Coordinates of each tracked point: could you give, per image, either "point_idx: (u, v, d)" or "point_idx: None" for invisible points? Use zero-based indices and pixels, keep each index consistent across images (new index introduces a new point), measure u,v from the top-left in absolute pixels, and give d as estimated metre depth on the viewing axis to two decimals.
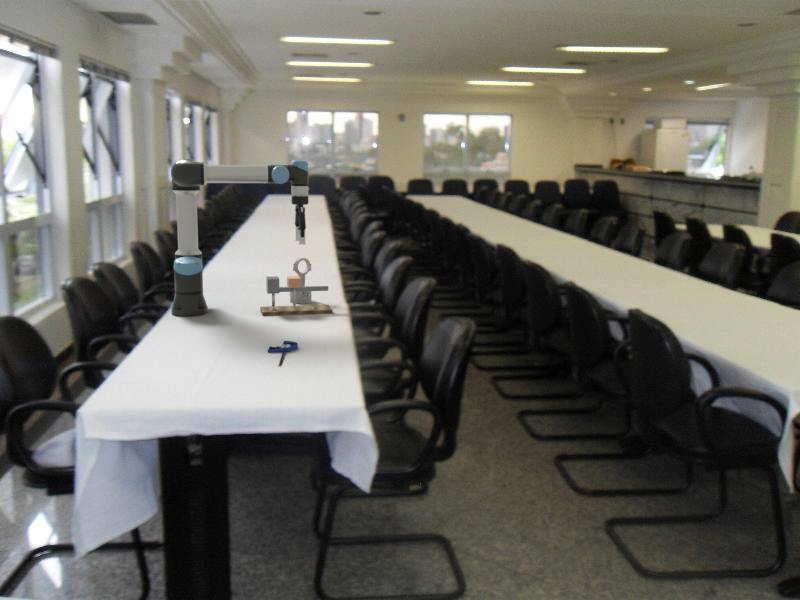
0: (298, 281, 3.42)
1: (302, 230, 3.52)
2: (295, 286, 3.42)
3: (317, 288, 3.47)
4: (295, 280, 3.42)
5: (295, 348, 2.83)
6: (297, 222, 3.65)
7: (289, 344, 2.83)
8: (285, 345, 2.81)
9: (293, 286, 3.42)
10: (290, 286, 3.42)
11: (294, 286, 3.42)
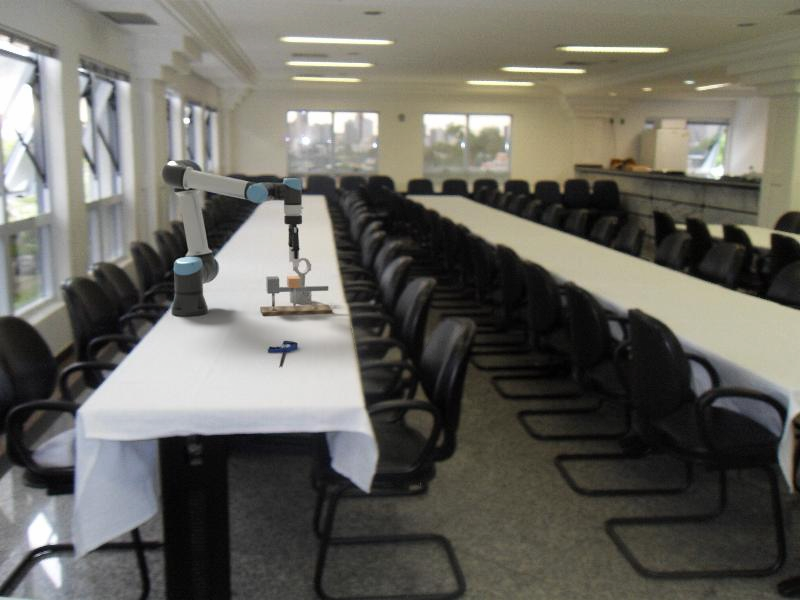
0: (298, 281, 3.42)
1: (296, 251, 3.34)
2: (295, 286, 3.42)
3: (317, 288, 3.47)
4: (295, 280, 3.42)
5: (295, 348, 2.83)
6: (290, 242, 3.47)
7: (289, 344, 2.83)
8: (285, 345, 2.81)
9: (293, 286, 3.42)
10: (290, 286, 3.42)
11: (294, 286, 3.42)
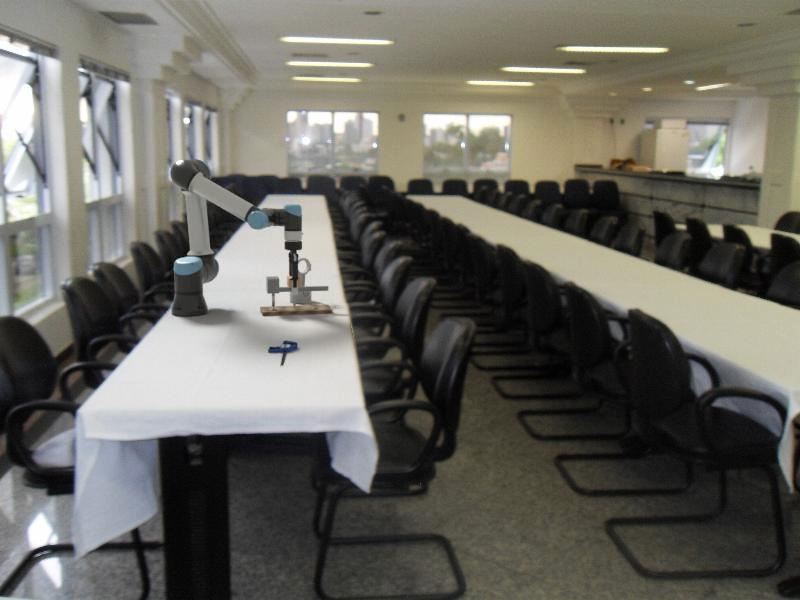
0: (298, 281, 3.42)
1: (295, 280, 3.40)
2: None
3: (317, 288, 3.47)
4: None
5: (295, 348, 2.83)
6: (291, 271, 3.47)
7: (289, 344, 2.83)
8: (286, 345, 2.81)
9: None
10: (290, 286, 3.42)
11: None
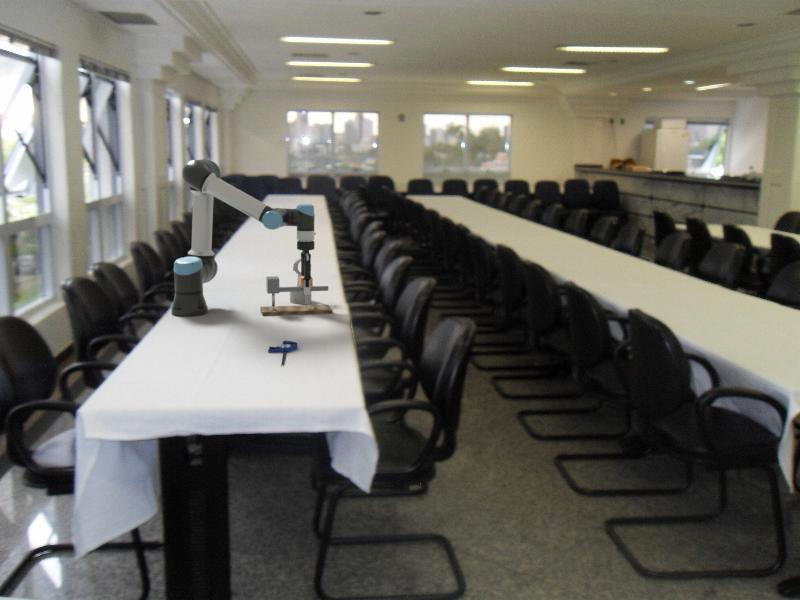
0: (310, 281, 3.43)
1: (307, 280, 3.41)
2: None
3: (317, 288, 3.47)
4: None
5: (295, 348, 2.83)
6: (303, 270, 3.49)
7: (289, 344, 2.83)
8: (286, 345, 2.81)
9: None
10: (302, 286, 3.43)
11: None
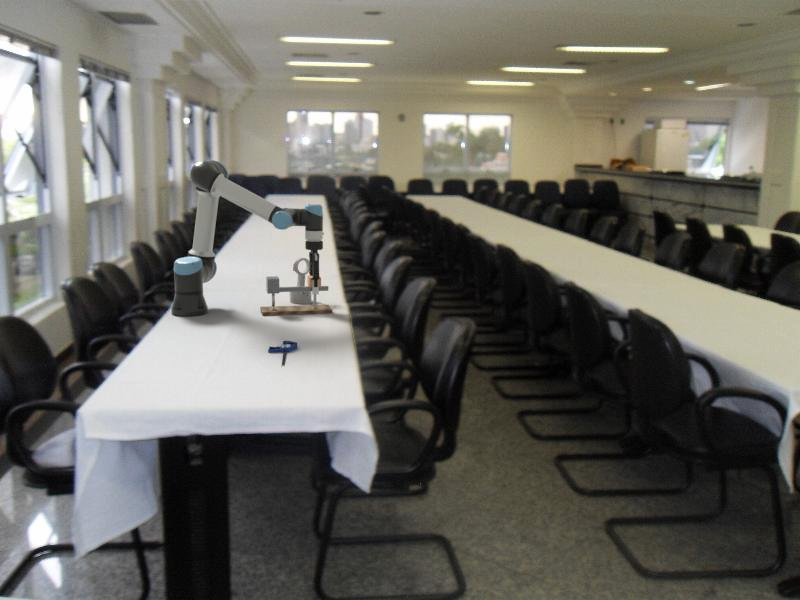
0: (319, 280, 3.44)
1: (315, 280, 3.42)
2: None
3: None
4: None
5: (295, 348, 2.83)
6: (311, 270, 3.50)
7: (289, 344, 2.83)
8: (286, 345, 2.82)
9: None
10: (311, 285, 3.44)
11: None
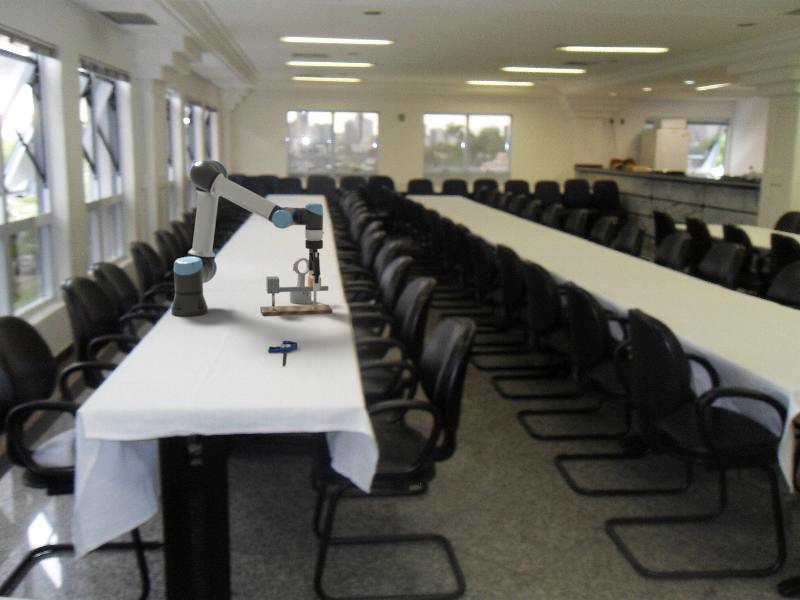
0: None
1: (316, 276, 3.39)
2: None
3: None
4: None
5: (295, 348, 2.83)
6: (311, 266, 3.52)
7: (289, 344, 2.83)
8: (286, 345, 2.82)
9: None
10: (311, 285, 3.44)
11: None
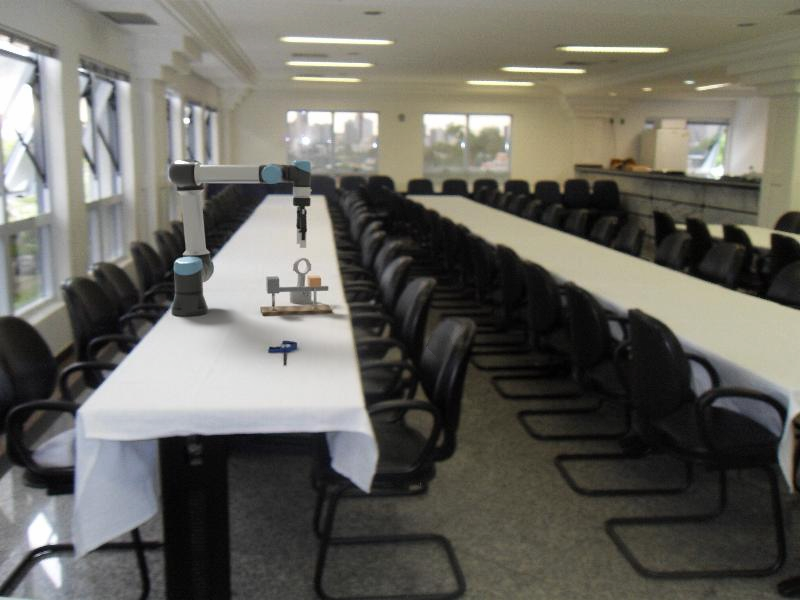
0: (319, 280, 3.44)
1: (303, 233, 3.39)
2: (316, 285, 3.44)
3: (317, 288, 3.47)
4: (316, 280, 3.44)
5: (295, 348, 2.83)
6: (298, 224, 3.52)
7: (289, 344, 2.83)
8: (286, 345, 2.82)
9: (314, 285, 3.44)
10: (311, 285, 3.44)
11: (315, 285, 3.44)
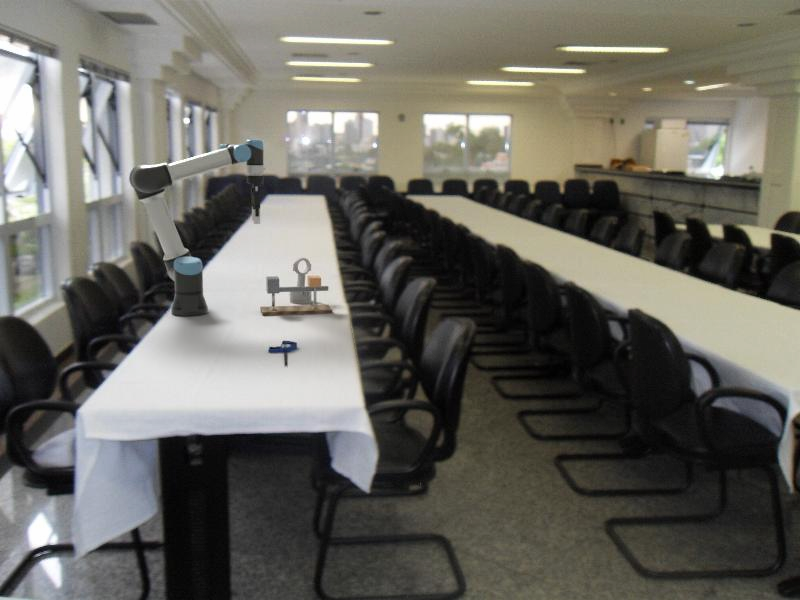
0: (319, 280, 3.44)
1: (257, 209, 3.52)
2: (316, 285, 3.44)
3: (317, 288, 3.47)
4: (316, 280, 3.44)
5: (295, 348, 2.83)
6: (253, 202, 3.65)
7: (289, 344, 2.83)
8: (286, 345, 2.82)
9: (314, 285, 3.44)
10: (311, 285, 3.44)
11: (315, 285, 3.44)
